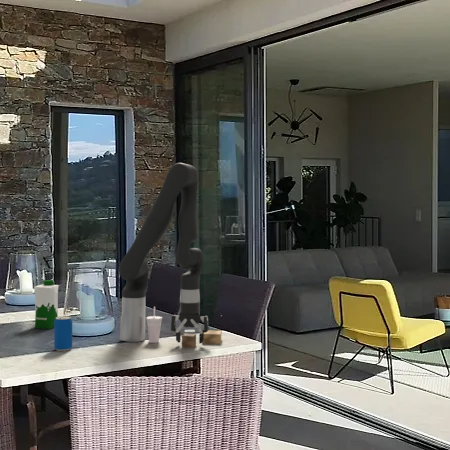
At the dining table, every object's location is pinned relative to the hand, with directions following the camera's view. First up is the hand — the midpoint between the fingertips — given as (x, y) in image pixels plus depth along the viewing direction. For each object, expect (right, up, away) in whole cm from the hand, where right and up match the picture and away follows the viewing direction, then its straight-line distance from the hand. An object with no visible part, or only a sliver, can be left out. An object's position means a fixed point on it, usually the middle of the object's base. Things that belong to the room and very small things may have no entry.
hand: (189, 342), depth 256 cm
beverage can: (-46, -1, -8) cm, 47 cm away
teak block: (+8, -1, +9) cm, 12 cm away
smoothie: (-14, -1, +7) cm, 16 cm away
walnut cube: (0, -2, 0) cm, 2 cm away
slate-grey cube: (-1, -1, +10) cm, 10 cm away
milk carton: (-64, +1, +32) cm, 71 cm away
